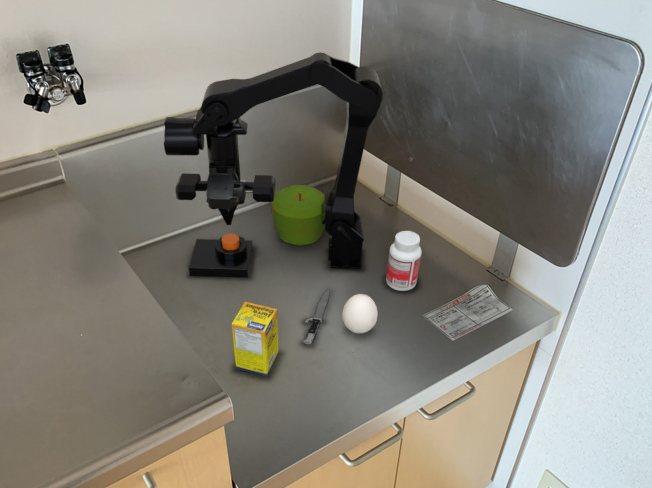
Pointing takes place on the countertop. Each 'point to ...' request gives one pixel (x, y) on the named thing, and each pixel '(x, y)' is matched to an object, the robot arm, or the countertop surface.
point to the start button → (230, 242)
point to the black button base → (220, 259)
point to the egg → (360, 313)
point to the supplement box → (255, 338)
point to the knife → (317, 318)
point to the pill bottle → (404, 261)
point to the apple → (298, 214)
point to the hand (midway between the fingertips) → (229, 224)
